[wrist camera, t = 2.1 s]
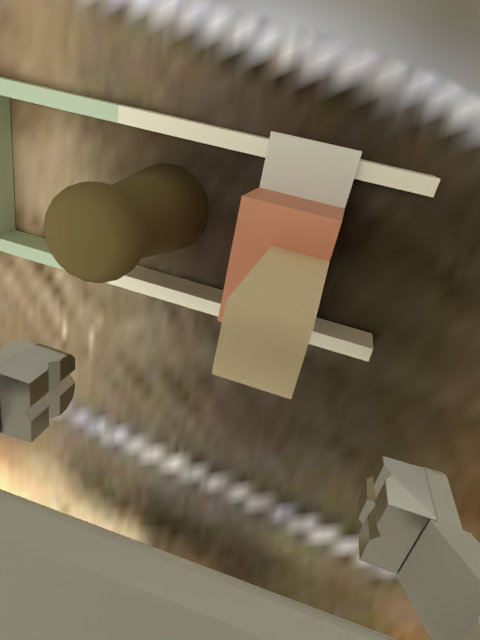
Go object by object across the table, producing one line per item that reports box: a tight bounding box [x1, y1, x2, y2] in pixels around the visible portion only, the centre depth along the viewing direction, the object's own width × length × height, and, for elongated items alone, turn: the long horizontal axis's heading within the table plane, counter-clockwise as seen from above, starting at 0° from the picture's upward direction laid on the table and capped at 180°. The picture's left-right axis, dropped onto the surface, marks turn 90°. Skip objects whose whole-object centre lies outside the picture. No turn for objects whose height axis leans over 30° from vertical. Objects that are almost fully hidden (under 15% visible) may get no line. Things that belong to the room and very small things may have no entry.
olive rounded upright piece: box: [44, 163, 208, 283], centre depth 25 cm, size 6×6×11 cm
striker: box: [212, 131, 362, 399], centre depth 21 cm, size 5×13×16 cm, turn 168°
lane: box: [0, 76, 440, 362], centre depth 27 cm, size 30×12×6 cm, turn 78°
